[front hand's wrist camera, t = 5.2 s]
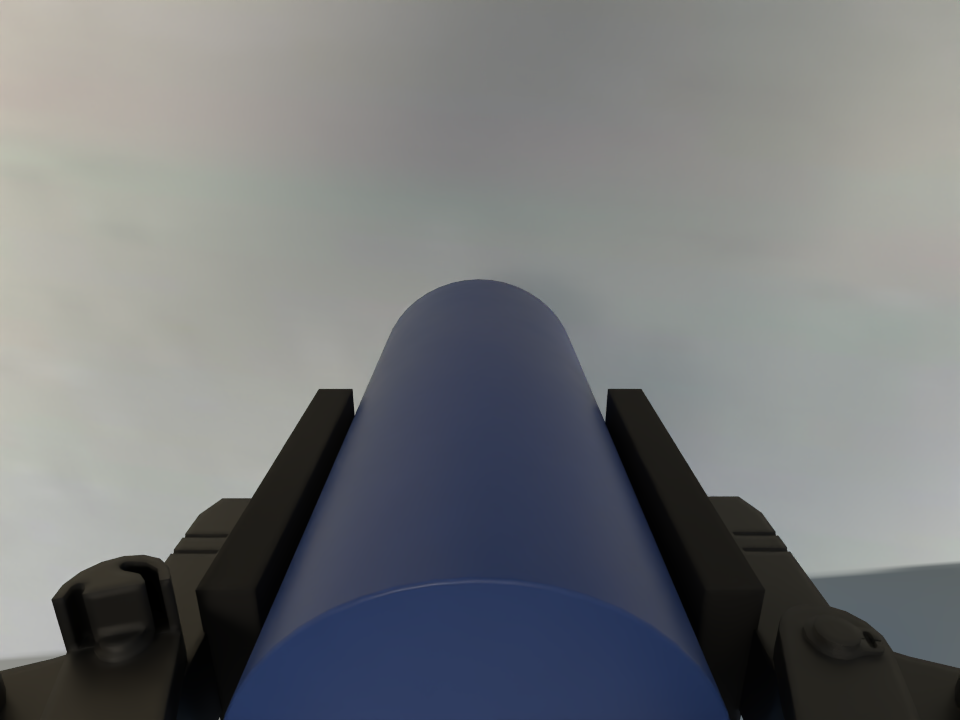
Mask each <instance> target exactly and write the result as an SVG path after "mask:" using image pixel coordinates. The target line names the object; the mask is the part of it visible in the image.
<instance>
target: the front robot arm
mask: <svg viewBox="0 0 960 720" xmlns="http://www.w3.org/2000/svg"><path fill="white" fill-rule="evenodd" d="M354 416H355V415H354V402H353V389H319V390H318V391H317V393H316V395H315V396H314V398H313V400H312V401H311V403H310V404H309V406H308V408H307V409H306V411H305V413H304V414H303V416H302V417H301V419H300V421H299V422H298V424H297V426H296V427H295V429H294V430H293V432H292V434H291V435H290V437H289V439H288V440H287V442H286V443H285V445H284V447H283V448H282V450H281V452H280V453H279V455H278V456H277V458H276V460H275V461H274V463H273V465H272V466H271V468H270V469H269V471H268V473H267V474H266V476H265V478H264V479H263V481H262V482H261V484H260V486H259V487H258V489H257V490H256V492H255V494H254V495H253V497H252V498H222V499H221V500H220V501H218V502H217V503H215V504H214V505H212V506H211V507H210V508H208V509H207V510H205V511H204V512H203V513H201V514H200V515H199V516H198V517H197V519H196V520H195V521H194V523H193V524H192V525H191V527H190V528H189V530H188V531H187V532H186V534H185V538H182V539H181V541H180V542H179V543H178V545H177V546H176V548H175V549H174V553H173V554H170V556H169V557H168V559H167V560H166V561H165V563H164V562H163V561H162V560H161V559H159V558H155V557H151V556H146V555H135V556H123V557H119V558H115V559H111V560H108V561H104V562H101V563H99V564H97V565H94V566H92V567H90V568H88V569H86V570H84V571H82V572H80V573H78V574H77V575H76V576H74V577H73V578H72V579H70V580H69V581H68V582H66V583H65V584H63V585H62V587H61V588H60V589H59V590H58V592H57V593H56V594H55V596H54V597H53V598H52V603H53V606H54V610H55V613H56V617H57V620H58V623H59V627H60V630H61V633H62V637H63V640H64V644H65V647H66V650H67V654H66V655H63V656H60V657H57V658H54V659H50V660H46V661H41V662H37V663H33V664H29V665H24V666H20V667H16V668H12V669H7V670H3V671H0V720H219V717H220V720H223V719H224V715H225V713H226V711H227V708H228V706H229V704H230V701H231V699H232V697H233V694H234V692H235V690H236V688H237V685H238V683H239V681H240V678H241V676H242V674H243V671H244V669H245V667H246V665H247V662H248V660H249V658H250V655H251V653H252V651H253V648H254V646H255V644H256V642H257V639H258V637H259V635H260V632H261V630H262V628H263V625H264V623H265V621H266V619H267V616H268V614H269V612H270V609H271V607H272V605H273V602H274V600H275V598H276V596H277V593H278V591H279V589H280V586H281V584H282V582H283V579H284V577H285V575H286V573H287V570H288V568H289V566H290V563H291V561H292V559H293V556H294V554H295V552H296V550H297V547H298V545H299V543H300V540H301V538H302V536H303V533H304V531H305V529H306V527H307V524H308V522H309V520H310V517H311V515H312V513H313V510H314V508H315V506H316V504H317V501H318V499H319V497H320V494H321V492H322V490H323V487H324V485H325V483H326V481H327V478H328V476H329V474H330V471H331V469H332V467H333V464H334V462H335V460H336V458H337V455H338V453H339V451H340V448H341V446H342V444H343V441H344V439H345V437H346V435H347V432H348V430H349V428H350V425H351V423H352V421H353V418H354ZM605 424H606V426H607V428H608V431H609V433H610V435H611V438H612V440H613V442H614V445H615V447H616V450H617V452H618V454H619V457H620V459H621V461H622V464H623V466H624V468H625V471H626V473H627V475H628V478H629V480H630V482H631V485H632V487H633V490H634V492H635V494H636V497H637V499H638V501H639V504H640V506H641V508H642V511H643V513H644V515H645V518H646V520H647V523H648V525H649V527H650V530H651V532H652V534H653V537H654V539H655V541H656V544H657V546H658V548H659V551H660V553H661V555H662V558H663V560H664V563H665V565H666V567H667V570H668V572H669V574H670V577H671V579H672V581H673V584H674V586H675V588H676V591H677V593H678V596H679V598H680V600H681V603H682V605H683V607H684V610H685V612H686V614H687V617H688V619H689V621H690V624H691V626H692V628H693V631H694V633H695V636H696V638H697V640H698V643H699V645H700V647H701V650H702V652H703V654H704V657H705V659H706V661H707V664H708V666H709V669H710V671H711V673H712V676H713V678H714V680H715V683H716V685H717V687H718V690H719V692H720V694H721V697H722V699H723V701H724V704H725V706H726V709H727V711H728V714H729V717H730V720H740V717H741V715H742V718H743V720H960V668H956V667H952V666H947V665H943V664H939V663H935V662H930V661H926V660H922V659H918V658H913V657H909V656H906V655H902V654H899V653H896V652H893V651H892V649H891V648H890V646H889V645H888V643H887V642H886V640H885V639H884V637H883V636H882V635H881V634H880V633H879V632H877V631H876V630H875V629H874V628H873V627H871V626H870V625H869V624H868V623H867V622H865V621H863V620H861V619H859V618H857V617H856V616H854V615H852V614H850V613H848V612H846V611H843V610H840V609H836V608H833V607H830V606H829V605H828V603H827V602H826V600H825V599H824V598H823V596H822V595H821V594H820V592H819V591H818V590H817V588H816V587H815V585H814V584H813V583H812V581H811V580H810V578H809V577H808V576H807V574H806V573H805V572H804V570H803V569H802V568H801V566H800V565H799V563H798V562H797V561H796V559H795V558H794V557H793V555H792V554H791V552H788V551H787V547H786V546H785V544H784V543H783V542H782V540H781V539H780V537H779V536H776V534H775V531H774V529H773V528H772V526H771V525H770V524H769V522H768V521H767V520H766V518H765V517H764V515H763V514H762V513H761V512H760V511H758V510H757V509H755V508H754V507H753V506H751V505H750V504H748V503H747V502H745V501H744V500H743V499H741V498H740V497H708V496H707V495H706V493H705V491H704V490H703V488H702V487H701V485H700V483H699V482H698V480H697V478H696V477H695V475H694V474H693V472H692V470H691V469H690V467H689V465H688V464H687V462H686V461H685V459H684V457H683V456H682V454H681V452H680V451H679V449H678V448H677V446H676V444H675V443H674V441H673V440H672V438H671V436H670V435H669V433H668V431H667V430H666V428H665V427H664V425H663V423H662V422H661V420H660V418H659V417H658V415H657V414H656V412H655V410H654V409H653V407H652V405H651V404H650V402H649V401H648V399H647V397H646V396H645V394H644V392H643V391H642V389H608V394H607V407H606V420H605Z"/></svg>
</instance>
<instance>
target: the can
mask: <svg viewBox="0 0 960 720" xmlns="http://www.w3.org/2000/svg"><path fill="white" fill-rule="evenodd" d="M223 720H730V717H729V714H728V711H727V709H726V706H725V704H724V701H723V699H722V697H721V694H720V692H719V690H718V687H717V685H716V683H715V680H714V678H713V676H712V673H711V671H710V669H709V666H708V664H707V661H706V659H705V657H704V654H703V652H702V650H701V647H700V645H699V643H698V640H697V638H696V636H695V633H694V631H693V628H692V626H691V624H690V621H689V619H688V617H687V614H686V612H685V610H684V607H683V605H682V603H681V600H680V598H679V596H678V593H677V591H676V588H675V586H674V584H673V581H672V579H671V577H670V574H669V572H668V570H667V567H666V565H665V563H664V560H663V558H662V555H661V553H660V551H659V548H658V546H657V544H656V541H655V539H654V537H653V534H652V532H651V530H650V527H649V525H648V523H647V520H646V518H645V515H644V513H643V511H642V508H641V506H640V504H639V501H638V499H637V497H636V494H635V492H634V490H633V487H632V485H631V482H630V480H629V478H628V475H627V473H626V471H625V468H624V466H623V464H622V461H621V459H620V457H619V454H618V452H617V450H616V447H615V445H614V442H613V440H612V438H611V435H610V433H609V431H608V428H607V426H606V424H605V421H604V419H603V417H602V414H601V412H600V409H599V407H598V405H597V402H596V400H595V398H594V395H593V393H592V391H591V388H590V386H589V384H588V381H587V379H586V377H585V374H584V372H583V369H582V367H581V365H580V362H579V360H578V358H577V355H576V353H575V351H574V348H573V346H572V344H571V341H570V339H569V337H568V335H567V332H566V330H565V328H564V327H563V325H562V324H561V322H560V320H559V319H558V317H557V316H556V315H555V314H554V313H553V312H552V311H551V309H550V308H549V307H548V306H546V305H545V304H544V303H543V302H542V301H541V300H539V299H538V298H536V297H535V296H533V295H532V294H530V293H529V292H527V291H525V290H523V289H521V288H518V287H516V286H513V285H510V284H507V283H504V282H498V281H493V280H479V279H477V280H464V281H459V282H454V283H450V284H447V285H445V286H442V287H439V288H437V289H435V290H433V291H431V292H429V293H427V294H426V295H424V296H423V297H421V298H420V299H418V300H417V301H416V302H415V303H413V304H412V305H411V306H410V307H409V308H408V309H407V310H406V311H405V312H404V313H403V315H402V316H401V317H400V318H399V320H398V321H397V323H396V324H395V326H394V328H393V329H392V332H391V334H390V336H389V338H388V340H387V343H386V345H385V347H384V350H383V352H382V354H381V356H380V359H379V361H378V363H377V366H376V368H375V370H374V373H373V375H372V377H371V379H370V382H369V384H368V386H367V389H366V391H365V393H364V396H363V398H362V400H361V402H360V405H359V407H358V409H357V412H356V414H355V416H354V418H353V421H352V423H351V425H350V428H349V430H348V432H347V435H346V437H345V439H344V441H343V444H342V446H341V448H340V451H339V453H338V455H337V458H336V460H335V462H334V464H333V467H332V469H331V471H330V474H329V476H328V478H327V481H326V483H325V485H324V487H323V490H322V492H321V494H320V497H319V499H318V501H317V504H316V506H315V508H314V510H313V513H312V515H311V517H310V520H309V522H308V524H307V527H306V529H305V531H304V533H303V536H302V538H301V540H300V543H299V545H298V547H297V550H296V552H295V554H294V556H293V559H292V561H291V563H290V566H289V568H288V570H287V573H286V575H285V577H284V579H283V582H282V584H281V586H280V589H279V591H278V593H277V596H276V598H275V600H274V602H273V605H272V607H271V609H270V612H269V614H268V616H267V619H266V621H265V623H264V625H263V628H262V630H261V632H260V635H259V637H258V639H257V642H256V644H255V646H254V648H253V651H252V653H251V655H250V658H249V660H248V662H247V665H246V667H245V669H244V671H243V674H242V676H241V678H240V681H239V683H238V685H237V688H236V690H235V692H234V694H233V697H232V699H231V701H230V704H229V706H228V708H227V711H226V713H225V715H224V719H223Z"/></svg>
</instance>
